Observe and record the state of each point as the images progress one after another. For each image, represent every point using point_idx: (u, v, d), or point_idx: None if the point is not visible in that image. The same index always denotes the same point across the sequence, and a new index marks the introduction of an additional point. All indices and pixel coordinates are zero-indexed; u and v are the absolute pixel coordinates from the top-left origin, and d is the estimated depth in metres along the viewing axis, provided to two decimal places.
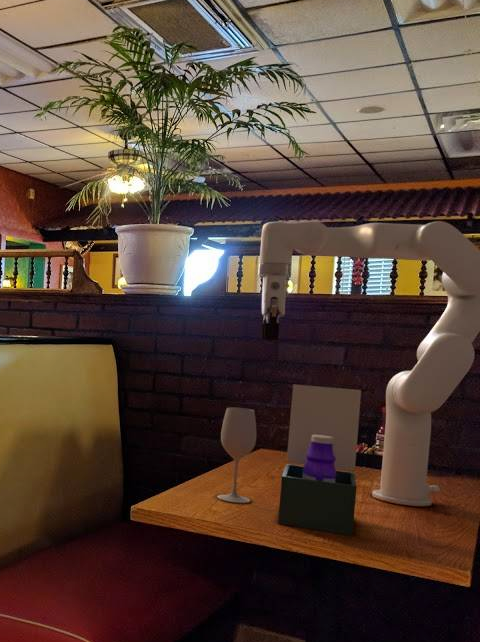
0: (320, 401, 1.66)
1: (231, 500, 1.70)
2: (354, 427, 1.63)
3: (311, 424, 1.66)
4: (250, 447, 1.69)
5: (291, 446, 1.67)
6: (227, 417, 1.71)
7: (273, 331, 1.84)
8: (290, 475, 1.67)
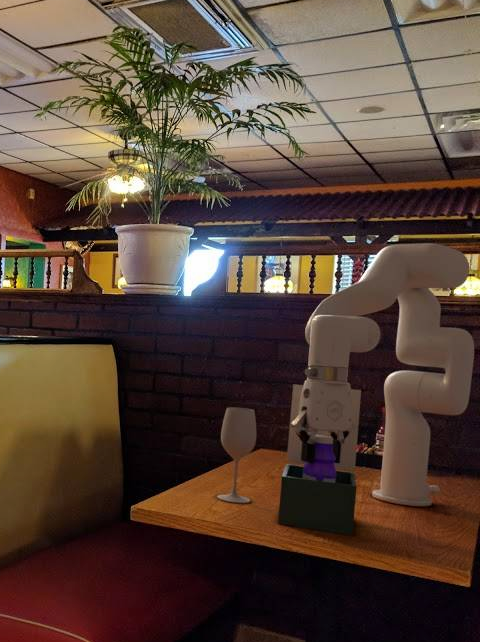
0: None
1: (231, 500, 1.70)
2: None
3: None
4: (250, 447, 1.69)
5: (291, 446, 1.67)
6: (227, 417, 1.71)
7: (305, 452, 1.53)
8: (290, 475, 1.67)
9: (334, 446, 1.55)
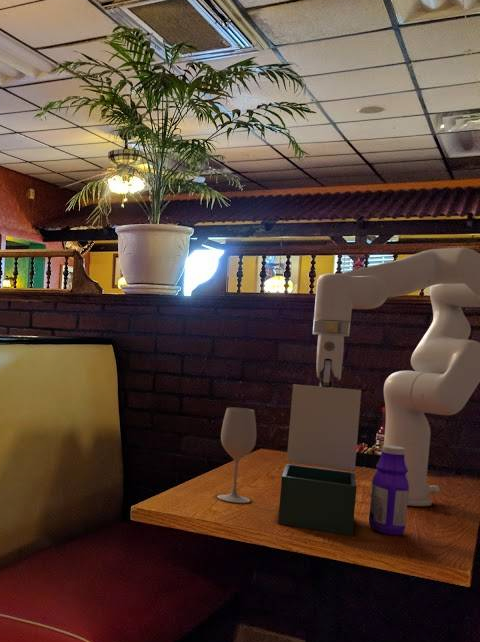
0: (320, 401, 1.66)
1: (231, 500, 1.70)
2: (354, 427, 1.62)
3: (311, 424, 1.66)
4: (250, 447, 1.69)
5: (291, 446, 1.67)
6: (227, 417, 1.71)
7: None
8: (290, 475, 1.67)
9: None
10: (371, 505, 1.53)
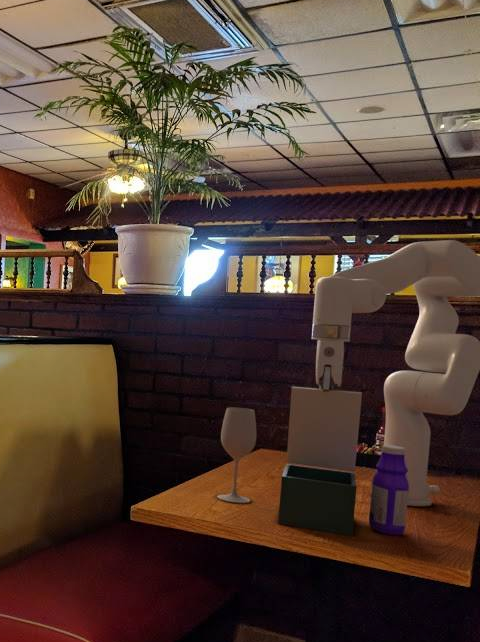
0: (320, 404, 1.61)
1: (231, 500, 1.70)
2: (354, 430, 1.59)
3: (310, 427, 1.63)
4: (250, 447, 1.69)
5: (291, 448, 1.66)
6: (227, 417, 1.71)
7: None
8: (290, 475, 1.67)
9: None
10: (371, 505, 1.53)
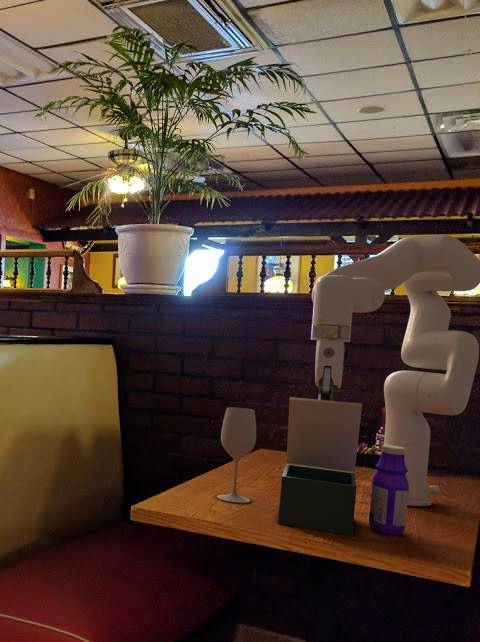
0: (319, 414, 1.58)
1: (231, 500, 1.70)
2: (354, 437, 1.57)
3: (310, 433, 1.61)
4: (250, 447, 1.69)
5: (290, 451, 1.65)
6: (227, 417, 1.71)
7: None
8: (290, 475, 1.67)
9: None
10: (371, 505, 1.53)
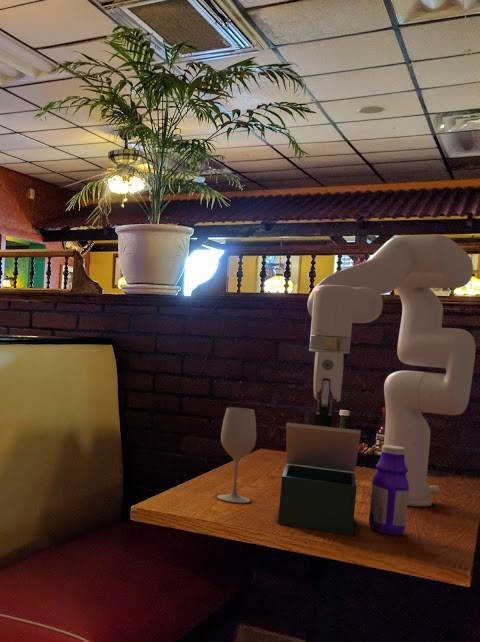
0: (317, 436, 1.54)
1: (231, 500, 1.70)
2: (353, 452, 1.55)
3: (308, 447, 1.59)
4: (250, 447, 1.69)
5: (290, 456, 1.64)
6: (227, 417, 1.71)
7: (324, 425, 1.53)
8: (290, 475, 1.67)
9: None
10: (371, 505, 1.53)
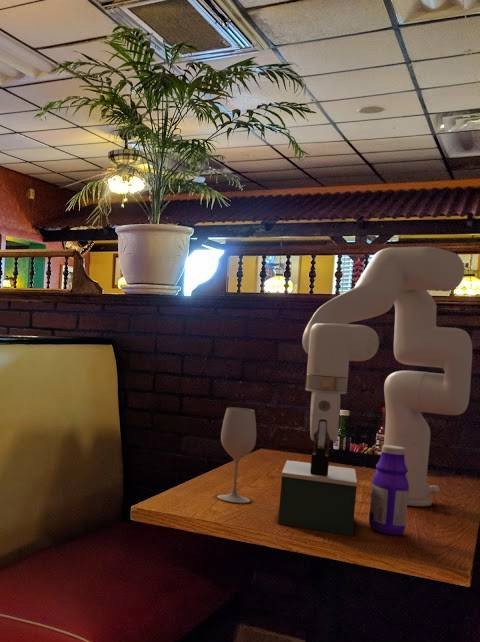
0: None
1: (231, 500, 1.70)
2: None
3: None
4: (250, 447, 1.69)
5: None
6: (227, 417, 1.71)
7: (321, 466, 1.50)
8: None
9: None
10: (371, 505, 1.53)
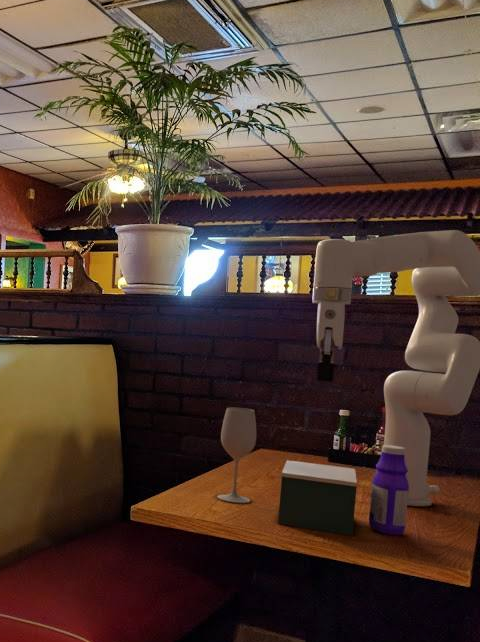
0: None
1: (231, 500, 1.70)
2: None
3: None
4: (250, 447, 1.69)
5: None
6: (227, 417, 1.71)
7: (327, 372, 1.62)
8: None
9: None
10: (371, 505, 1.53)
